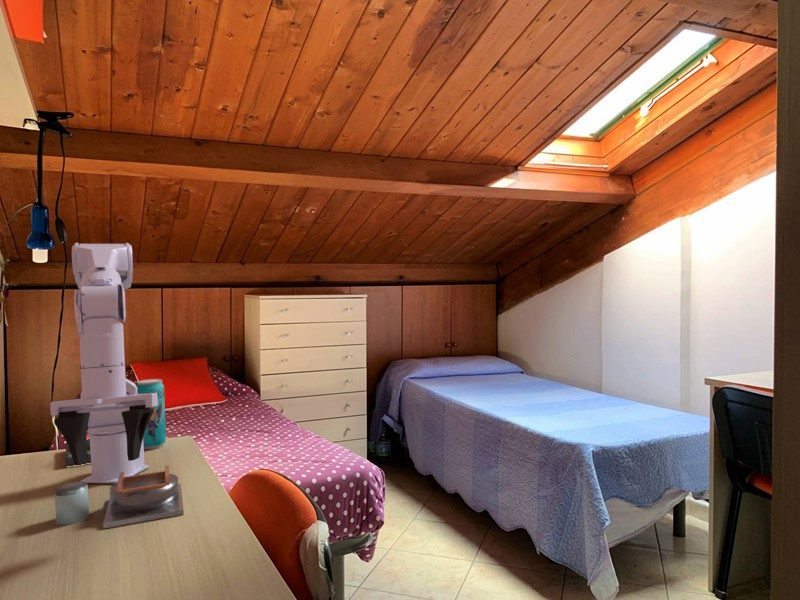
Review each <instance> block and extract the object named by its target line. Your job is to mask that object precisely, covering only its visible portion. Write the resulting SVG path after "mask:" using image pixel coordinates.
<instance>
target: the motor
mask: <svg viewBox="0 0 800 600" xmlns="http://www.w3.org/2000/svg"><path fill="white" fill-rule="evenodd" d="M182 493H183V492H182V485H181V483H179V477H178V476H177V475H176V474H173V473H170V466H169V465H164V470H161V471H155V472H154V471H153V472H148V473H141V474H136V475H133V476H126V477H124V472H120V474H119V479H118V482H117V483H113V484H112V485H111V486H110V487H109V499H108V505H107V508H106V512H105V516H104V519H103V525H102V526H103V529H104V530H105V529H110V528H116V527H121V526H126V525H133V524H137V523H144V522H150V521H155V520H160V519H167V518H173V517H178V516H183V515H185V514H184V511H185V509H184V502H183V494H182Z"/></svg>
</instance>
